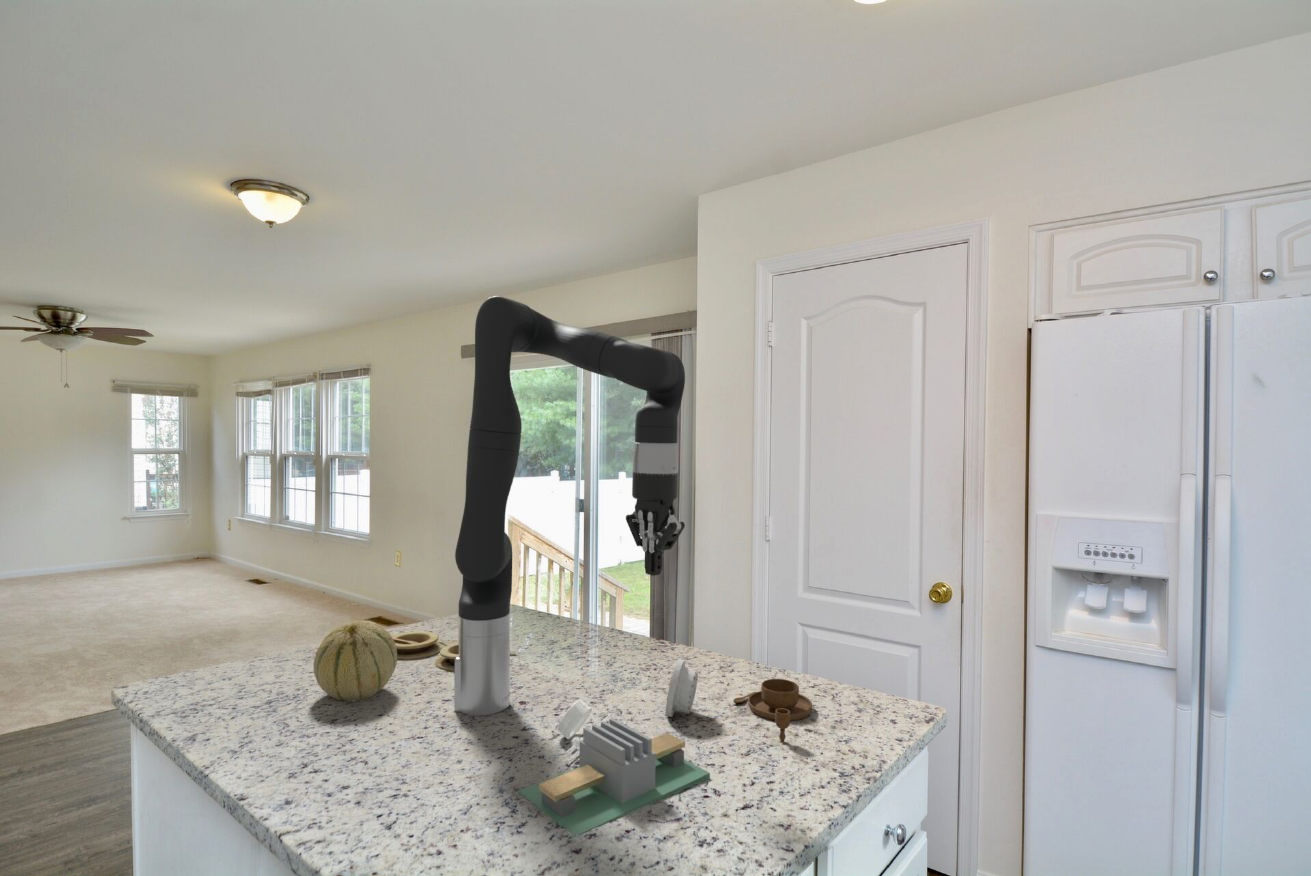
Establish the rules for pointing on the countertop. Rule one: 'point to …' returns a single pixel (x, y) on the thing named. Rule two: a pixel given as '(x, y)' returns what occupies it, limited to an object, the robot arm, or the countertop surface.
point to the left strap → (571, 783)
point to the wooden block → (666, 745)
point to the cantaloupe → (355, 660)
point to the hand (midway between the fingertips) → (652, 574)
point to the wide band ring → (575, 724)
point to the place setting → (779, 703)
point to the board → (611, 808)
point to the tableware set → (427, 648)
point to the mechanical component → (681, 689)
